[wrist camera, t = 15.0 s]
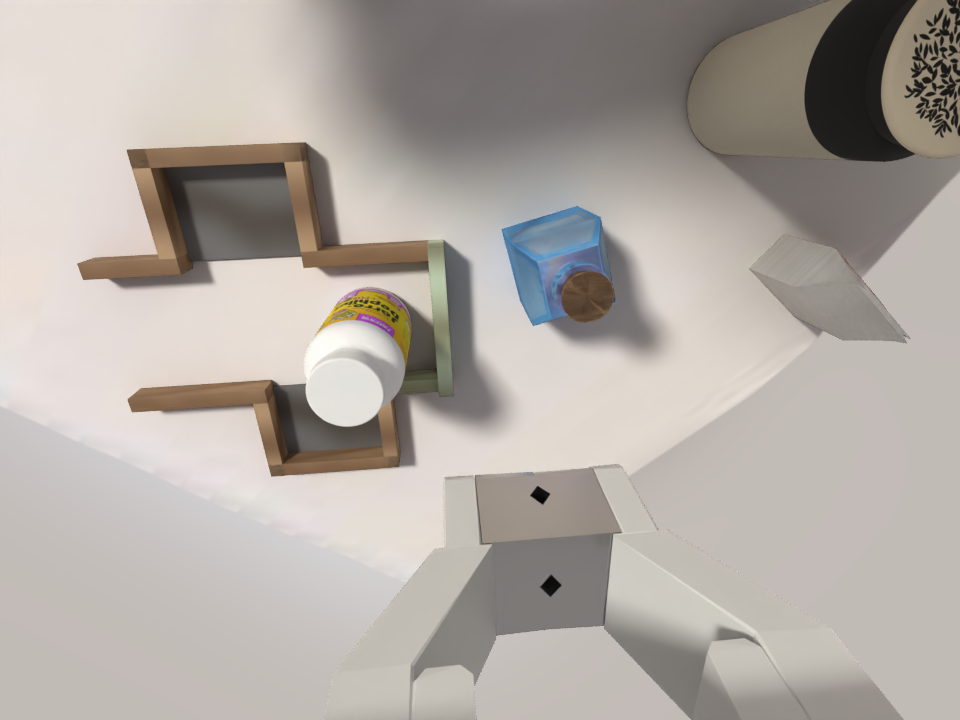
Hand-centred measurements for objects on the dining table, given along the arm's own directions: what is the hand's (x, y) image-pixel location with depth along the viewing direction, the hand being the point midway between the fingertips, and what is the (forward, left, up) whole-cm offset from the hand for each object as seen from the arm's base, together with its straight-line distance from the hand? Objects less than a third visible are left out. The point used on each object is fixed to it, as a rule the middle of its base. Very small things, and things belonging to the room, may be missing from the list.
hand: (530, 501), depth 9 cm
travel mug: (-8, +21, -33) cm, 40 cm away
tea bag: (+6, +28, -33) cm, 44 cm away
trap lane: (+8, -14, -33) cm, 37 cm away
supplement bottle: (+8, -8, -33) cm, 35 cm away
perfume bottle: (+3, +7, -33) cm, 34 cm away
